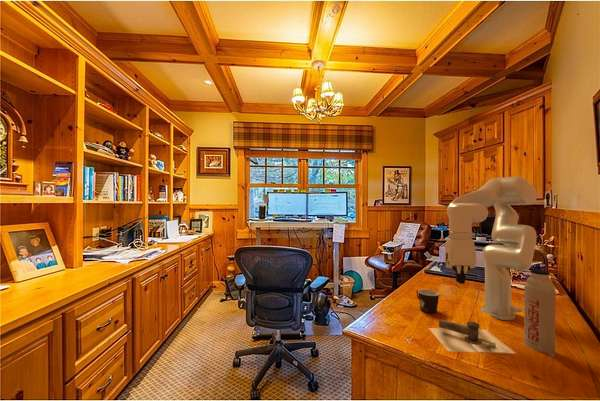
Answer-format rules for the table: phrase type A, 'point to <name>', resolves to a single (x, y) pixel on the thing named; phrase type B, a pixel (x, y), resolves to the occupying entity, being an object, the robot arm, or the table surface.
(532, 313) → the thermos bottle
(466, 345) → the beige flat slab
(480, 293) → the table surface
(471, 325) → the grey door handle
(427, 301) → the coffee mug
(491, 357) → the table surface
